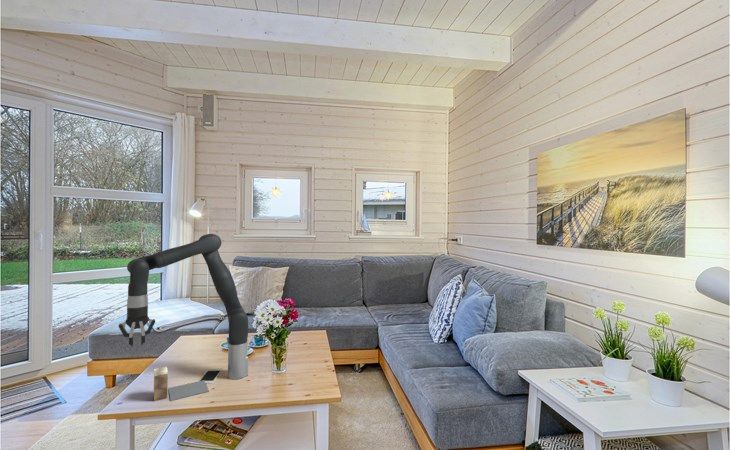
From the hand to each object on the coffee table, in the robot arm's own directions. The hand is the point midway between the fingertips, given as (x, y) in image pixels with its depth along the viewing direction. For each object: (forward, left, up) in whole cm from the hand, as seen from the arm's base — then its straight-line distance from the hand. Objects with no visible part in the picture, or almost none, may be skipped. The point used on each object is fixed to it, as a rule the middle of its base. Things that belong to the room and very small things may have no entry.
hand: (137, 344), depth 145 cm
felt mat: (-20, 0, -25) cm, 32 cm away
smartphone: (-31, -10, -26) cm, 42 cm away
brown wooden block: (-9, 0, -25) cm, 27 cm away
